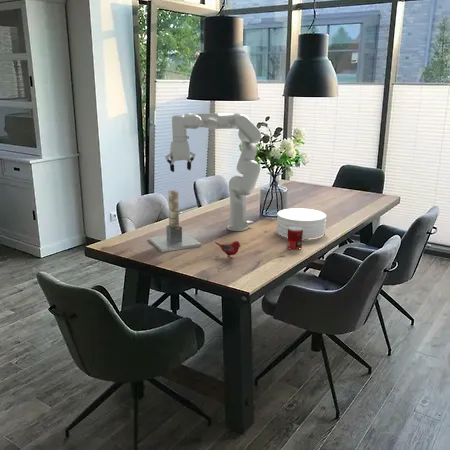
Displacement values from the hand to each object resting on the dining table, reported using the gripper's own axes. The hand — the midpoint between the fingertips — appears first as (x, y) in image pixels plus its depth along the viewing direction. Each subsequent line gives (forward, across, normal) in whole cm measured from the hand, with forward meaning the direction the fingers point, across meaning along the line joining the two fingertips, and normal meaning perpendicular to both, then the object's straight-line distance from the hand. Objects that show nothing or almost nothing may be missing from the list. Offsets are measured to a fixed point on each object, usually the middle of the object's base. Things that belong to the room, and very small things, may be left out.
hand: (180, 170), depth 272 cm
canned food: (+39, -45, +45) cm, 74 cm away
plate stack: (+40, -64, +24) cm, 79 cm away
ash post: (+29, +9, +9) cm, 31 cm away
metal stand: (+38, +9, +9) cm, 40 cm away
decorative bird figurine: (+38, -6, +41) cm, 56 cm away
